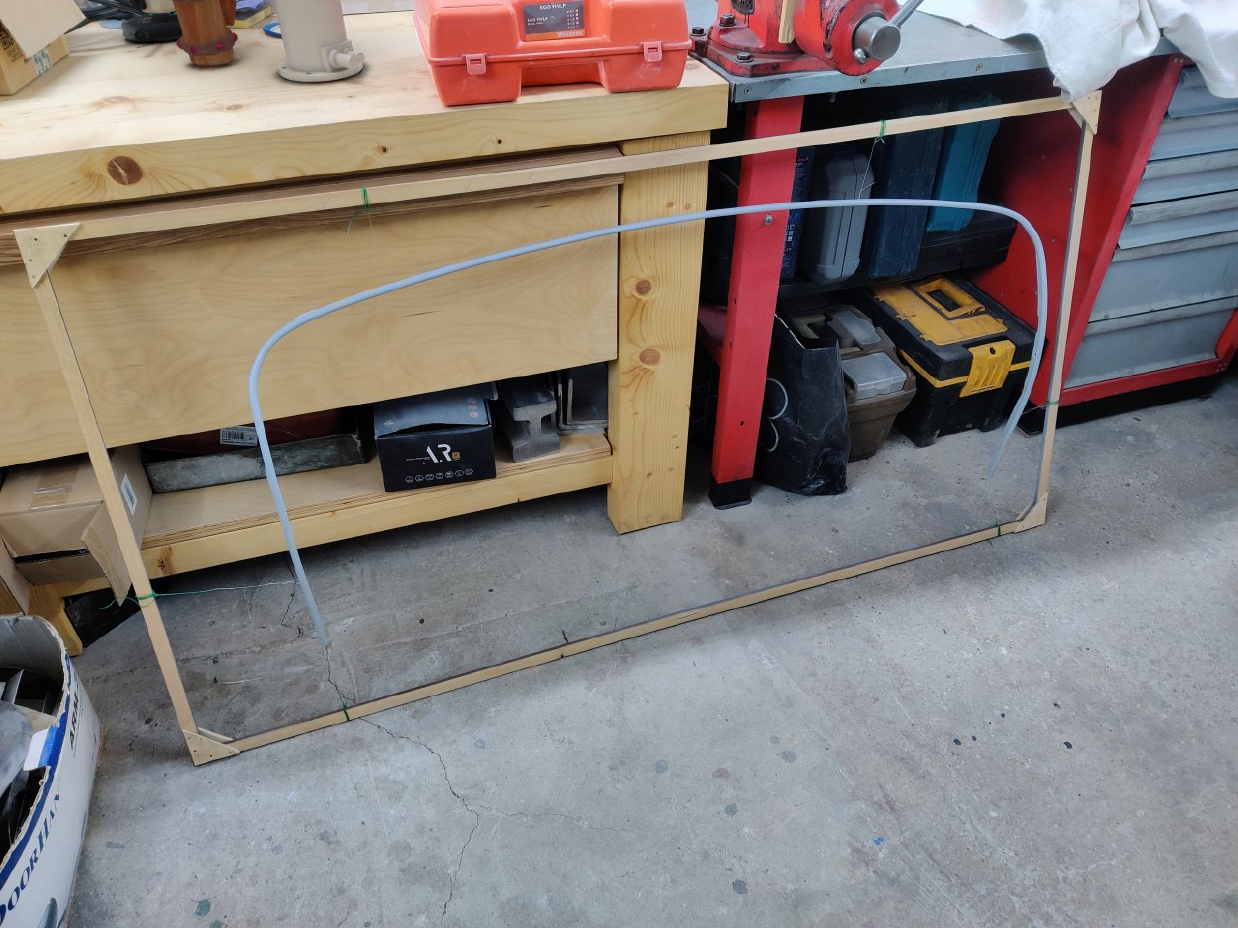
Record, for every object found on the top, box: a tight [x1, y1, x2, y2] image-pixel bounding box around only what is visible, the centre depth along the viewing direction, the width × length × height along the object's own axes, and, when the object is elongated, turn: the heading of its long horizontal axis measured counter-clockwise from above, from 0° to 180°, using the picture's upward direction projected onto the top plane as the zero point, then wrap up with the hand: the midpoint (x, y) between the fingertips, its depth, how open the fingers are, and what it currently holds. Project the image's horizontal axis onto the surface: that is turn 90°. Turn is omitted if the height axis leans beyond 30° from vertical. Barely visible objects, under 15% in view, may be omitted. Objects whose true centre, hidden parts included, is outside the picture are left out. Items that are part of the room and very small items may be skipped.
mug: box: [171, 0, 239, 67], centre depth 138 cm, size 15×8×15 cm, turn 168°
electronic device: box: [120, 14, 183, 42], centre depth 152 cm, size 9×6×15 cm
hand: (160, 3), depth 150 cm, fingers closed on bowl, 7 cm apart
